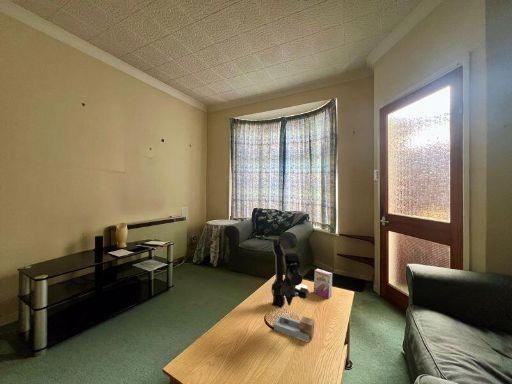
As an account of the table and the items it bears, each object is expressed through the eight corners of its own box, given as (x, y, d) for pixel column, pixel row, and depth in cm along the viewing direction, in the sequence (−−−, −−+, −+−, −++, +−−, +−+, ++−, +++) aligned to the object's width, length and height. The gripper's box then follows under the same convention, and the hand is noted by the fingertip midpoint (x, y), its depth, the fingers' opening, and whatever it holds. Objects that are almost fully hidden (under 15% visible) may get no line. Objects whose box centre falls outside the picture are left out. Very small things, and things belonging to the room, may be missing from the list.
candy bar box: (313, 293, 150) (314, 270, 149) (316, 290, 153) (317, 268, 153) (328, 299, 142) (329, 275, 142) (331, 296, 146) (332, 272, 145)
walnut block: (299, 335, 107) (299, 321, 107) (302, 329, 111) (302, 316, 111) (311, 339, 104) (312, 325, 104) (313, 333, 108) (314, 319, 108)
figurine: (301, 297, 142) (303, 272, 142) (277, 290, 152) (278, 267, 152) (311, 288, 158) (312, 266, 159) (289, 282, 168) (290, 261, 169)
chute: (274, 329, 111) (274, 324, 111) (280, 320, 119) (280, 315, 119) (308, 342, 103) (308, 336, 103) (312, 331, 111) (312, 326, 110)
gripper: (267, 277, 110) (266, 307, 111) (303, 287, 101) (302, 319, 102) (276, 270, 120) (275, 297, 121) (309, 278, 111) (308, 307, 112)
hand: (289, 305), depth 114 cm, fingers closed
